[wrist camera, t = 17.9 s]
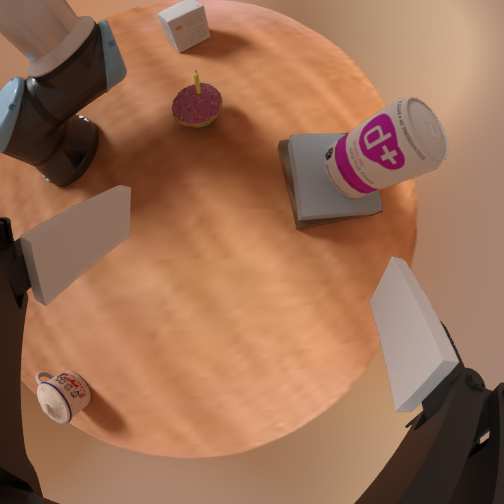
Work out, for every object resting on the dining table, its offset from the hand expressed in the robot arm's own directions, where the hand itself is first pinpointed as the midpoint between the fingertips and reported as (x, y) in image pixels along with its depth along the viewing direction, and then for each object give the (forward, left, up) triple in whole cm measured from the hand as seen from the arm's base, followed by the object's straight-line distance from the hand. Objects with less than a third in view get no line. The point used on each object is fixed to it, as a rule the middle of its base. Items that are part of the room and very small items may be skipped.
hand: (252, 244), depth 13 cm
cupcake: (-26, -4, -31) cm, 41 cm away
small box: (-49, -4, -31) cm, 58 cm away
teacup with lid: (+19, -44, -31) cm, 57 cm away
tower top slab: (-9, +14, -27) cm, 32 cm away
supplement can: (-9, +14, -22) cm, 28 cm away
